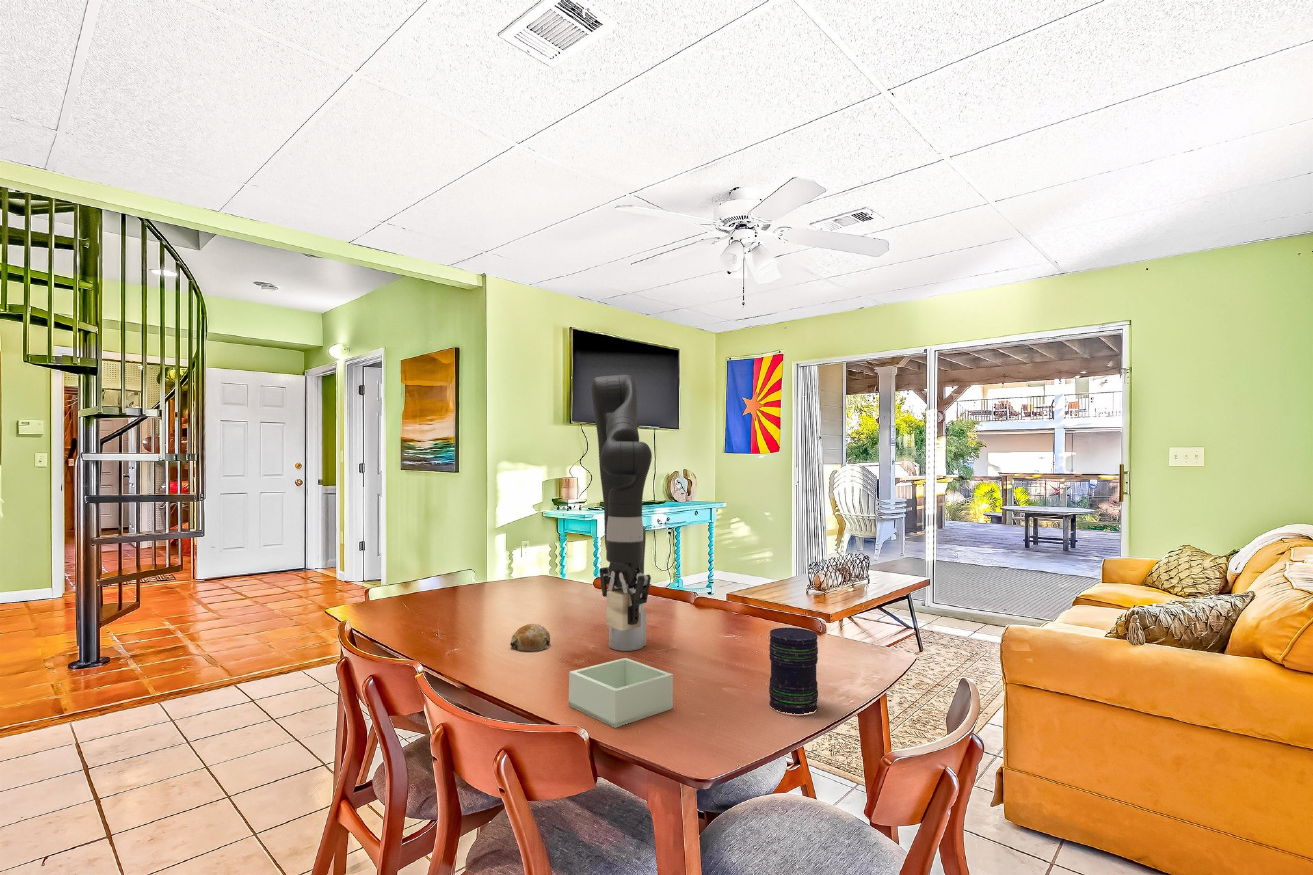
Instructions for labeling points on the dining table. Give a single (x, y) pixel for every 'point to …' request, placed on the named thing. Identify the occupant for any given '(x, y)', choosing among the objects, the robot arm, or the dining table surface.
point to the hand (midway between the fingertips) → (623, 621)
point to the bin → (620, 691)
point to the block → (619, 611)
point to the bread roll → (531, 638)
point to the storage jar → (793, 670)
